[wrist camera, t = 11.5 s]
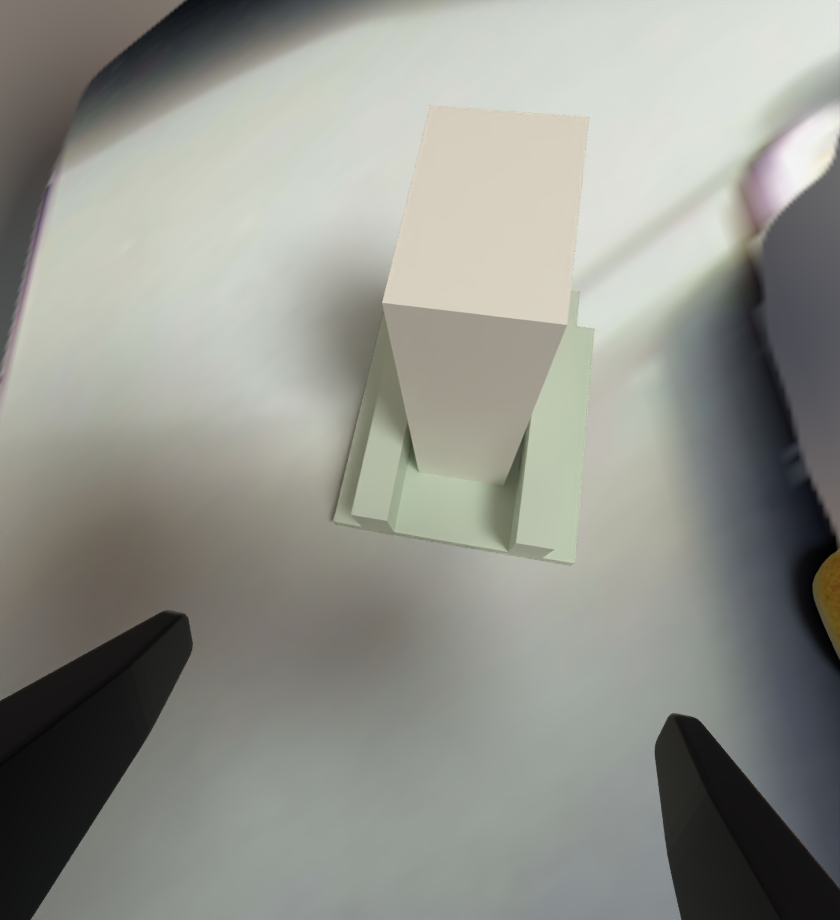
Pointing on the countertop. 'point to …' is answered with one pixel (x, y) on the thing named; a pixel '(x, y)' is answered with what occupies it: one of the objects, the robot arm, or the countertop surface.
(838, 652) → the bread roll
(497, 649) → the countertop surface
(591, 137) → the countertop surface
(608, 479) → the countertop surface
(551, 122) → the beige rectangular box
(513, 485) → the tile rack
